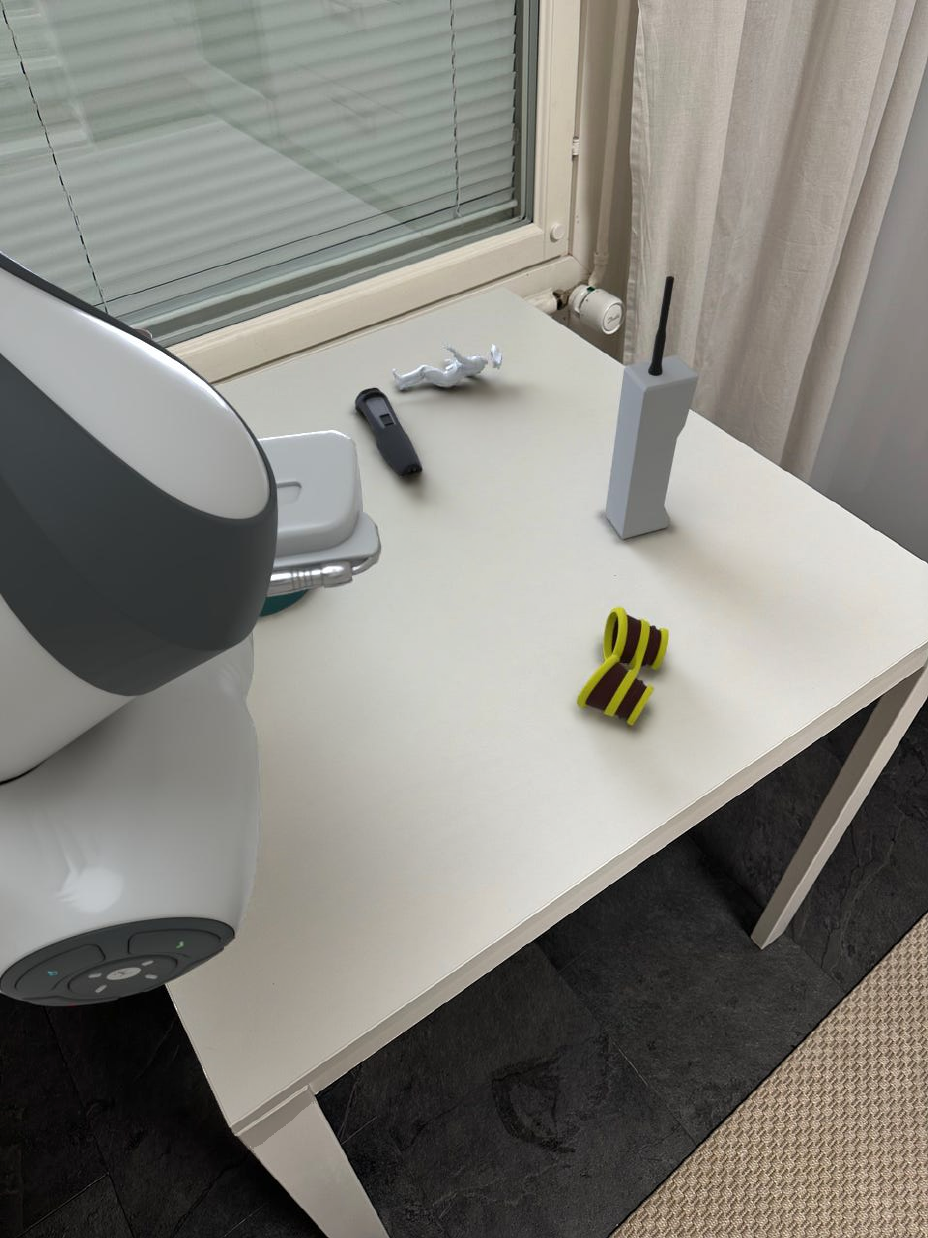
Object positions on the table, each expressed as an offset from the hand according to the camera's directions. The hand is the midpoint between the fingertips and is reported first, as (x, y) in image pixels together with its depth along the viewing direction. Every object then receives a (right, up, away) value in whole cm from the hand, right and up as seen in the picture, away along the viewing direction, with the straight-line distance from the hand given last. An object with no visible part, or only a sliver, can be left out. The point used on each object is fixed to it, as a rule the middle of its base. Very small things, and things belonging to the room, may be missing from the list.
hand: (158, 424), depth 47 cm
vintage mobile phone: (+33, -1, +39) cm, 51 cm away
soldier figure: (+14, +17, +55) cm, 60 cm away
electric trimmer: (+8, +9, +48) cm, 50 cm away
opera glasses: (+29, -16, +26) cm, 42 cm away
